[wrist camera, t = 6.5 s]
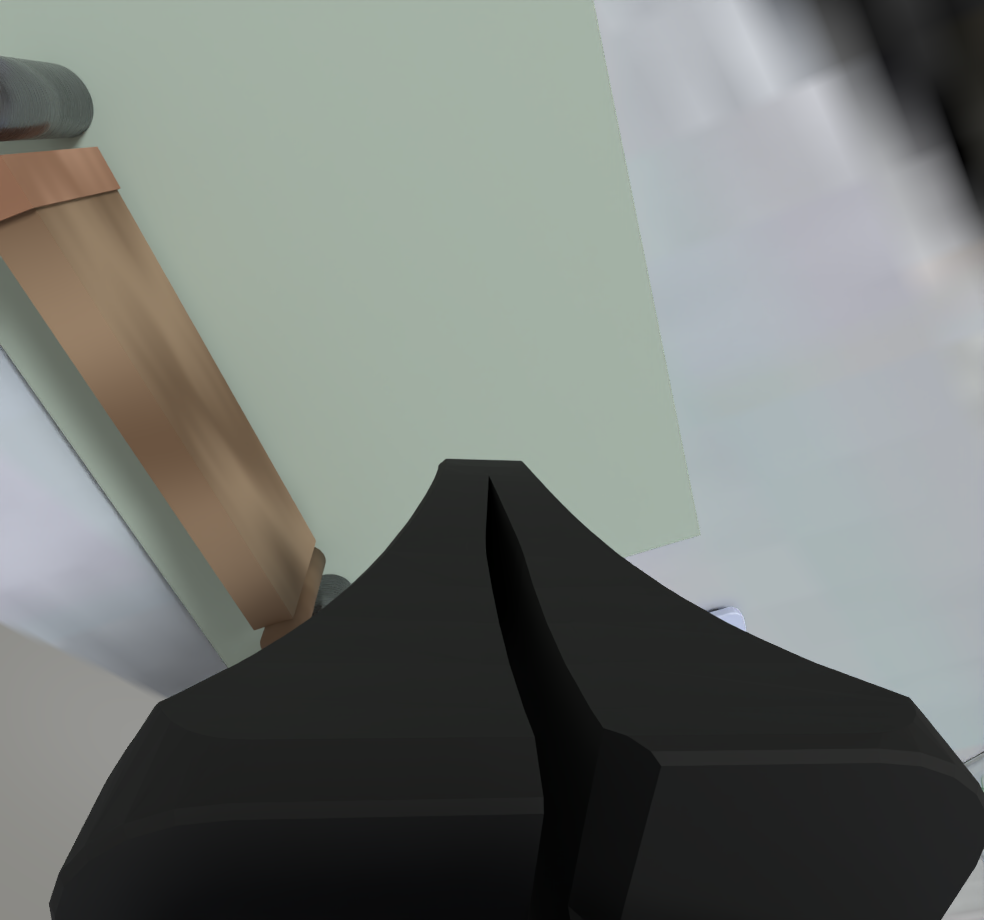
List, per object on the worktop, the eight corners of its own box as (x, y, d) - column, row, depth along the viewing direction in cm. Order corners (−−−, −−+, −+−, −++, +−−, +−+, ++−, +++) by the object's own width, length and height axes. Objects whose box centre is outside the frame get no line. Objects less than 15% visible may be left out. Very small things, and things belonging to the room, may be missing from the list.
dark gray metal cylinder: (363, 591, 24) (343, 712, 19) (322, 604, 24) (292, 726, 19) (80, 54, 16) (-77, 27, 11) (22, 77, 16) (-159, 60, 11)
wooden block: (334, 567, 22) (314, 652, 19) (296, 579, 22) (269, 665, 19) (97, 146, 16) (0, 155, 13) (46, 166, 16) (-64, 180, 13)
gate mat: (694, 525, 24) (700, 534, 23) (236, 661, 25) (231, 673, 25) (537, -249, 14) (540, -263, 14) (-189, 46, 16) (-211, 43, 15)
